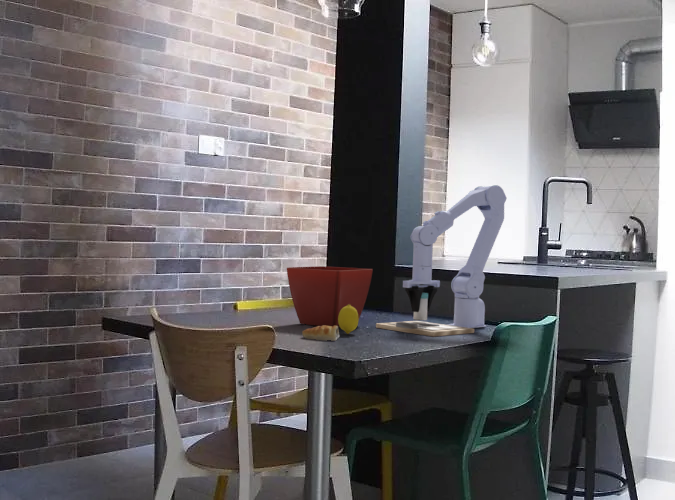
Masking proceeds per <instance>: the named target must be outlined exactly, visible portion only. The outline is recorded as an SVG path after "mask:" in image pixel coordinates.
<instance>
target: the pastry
mask: <svg viewBox="0 0 675 500" xmlns="http://www.w3.org/2000/svg"><path fill="white" fill-rule="evenodd" d="M339 331H340V330H339V327H338V326H335V325H334V326H333V327H332V326H326V325H323V326H314V327H312V328H305V329H304V330H302V331H301V333H302V337H303V338H304V339H308V340H314V339H316V340H315V341H327V340H331V341H330V342H333V341H334V342H335V341H337V340H338V339H339V338H340V332H339Z"/></svg>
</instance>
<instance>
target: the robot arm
mask: <svg viewBox="0 0 675 500" xmlns="http://www.w3.org/2000/svg"><path fill="white" fill-rule="evenodd" d="M506 201H507V196H506V193H505V191H504V189H503V188H502V187H501V186H500V185H498V184H497V185H487V186H485V185H483V186H482V185H481V186H477V187H475V188H474V189H472V190H470V191H469V192H467V194H466V195H465V196H464V197H462V198H461V199H460V200H459V201H457V202H456V203H455V204H454V205H452V206H451V208H449V209H448V210H447V211H446V210H441V211H440V210H438V211H435V212H434V215H433V216H432V217H430V219H428V220H424V221H423V222H422V225H419V226H416V227H415V228H413V230H412V232H411V234H410V237H409V238H410V240H411V242H412V244H413V251H412V252H413V254H412V255H413V256H412V278H411V279H409V280H402V288H404V289H405V290H404V291H405V292H406V294H407V296H408V300H409V302H410V306H411V311H412V312H413V313H414V312H419V308H420V300H421V296H422V293H428V305H427V312H429V311H430V308H431V305H432V302H433V299H434V297H435V295H436V293H437V292H438V288H440V286H441V281H440V280H438V279H437V280H435V279H433V277H432V276H433V275H432V273H433V251H434V250H433V249H434V248H433V246H434V244H435V243H436V242H437V239H438V238H439V236H441V235H442V234H444V233H445V232H446V231H448V230H449V229H450V228H452V227H453V226H454V221H455V220H456V219H457V218H458V217H460V216H462V215H463V214H465V213H466V212H468V211H469V210H471V209H472V208H473V207H476V208H478V210H479V211H480V212H481V214H482V215H483V217H484V221H483V223H482V226H481V228H480V230H479V232H478V235H477V237H476V239H475V242H474V245H473V247H472V249H471V251H470V254H469V256H468V258H467V262H466V264H465V265H464V266H463V267H461V268H460V269H459V270H458V273H457V274H456V275H455V276H454V277H453V279H452V280H451V284H450V287H451V290H452V292H453V294H454V306H453V307H454V309H453V314H454V315H453V323H448V324H447V325H451V326H459V327H466V328H473V329H476V328H477V329H478V328H487V325H486V324H485V313H486V305H485V302H484V300H483V299H481V298H480V296H481V295H482V293H483V292H484V284H485V283H484V282H485V279H486V276H485V273H484V268H485V266H486V264H487V261H488V260H489V256H490V254H491V252H492V249H493V247H494V245H495V242H496V239H497V237H498V235H499V232H500V230H501V228H502V225H503V223H504V220H505V204H506ZM432 279H433V280H432Z"/></svg>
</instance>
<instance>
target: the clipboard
mask: <svg viewBox="0 0 675 500" xmlns="http://www.w3.org/2000/svg"><path fill="white" fill-rule="evenodd" d="M375 328H376V329H383V330H389V331H390V330H391V331H394V332H401V333H402V332H403V333H408V334H416V335H421V336H426V337H427V336H428V337H441V336H442V337H445V336H455V335H464V334H465V335H466V334H474V333H475V328H466V327H459V326H451V325H448V324H443V323H435V322H428V321H424V320H409V321H408V320H407V321H394V322H392V321H391V322H379V323H378V322H377V323H375Z"/></svg>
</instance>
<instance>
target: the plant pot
mask: <svg viewBox="0 0 675 500" xmlns="http://www.w3.org/2000/svg"><path fill="white" fill-rule="evenodd" d="M286 274H287V280H288V286H289V292H290V295H291V300H292V304H293V307H294V310H295V313H296V316H297V318H298V322H299V324H300V325H305V324H306V325H309V326H315V327H317V326H323V325H326V326H332V327H333V326H334V325H335V326H338V328H340V326H339V323H338V316H339V313H340V311H341V309H342V308H343V307H345V306H347V305H351V306H352V307H354V308H355V309H356V310H357V312H358V317H359V319H360V318H361V315H362V312H363V310H364V307H365V304H366V301H367V297H368V294H369V290H370V287H371V282H372V276H373V268H360V267H359V268H358V267H342V266H341V267H340V266H323V265H322V266H318V265H317V266H291V267H286Z"/></svg>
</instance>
